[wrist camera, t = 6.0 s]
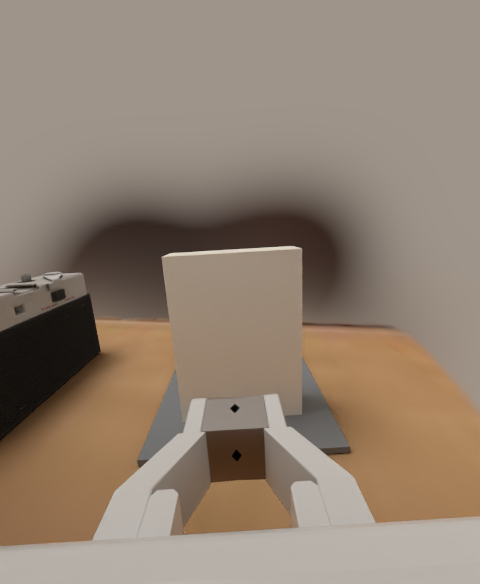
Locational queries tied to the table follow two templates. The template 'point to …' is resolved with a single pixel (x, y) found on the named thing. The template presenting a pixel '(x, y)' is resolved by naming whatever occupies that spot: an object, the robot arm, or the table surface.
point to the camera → (42, 340)
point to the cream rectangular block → (237, 324)
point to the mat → (311, 424)
